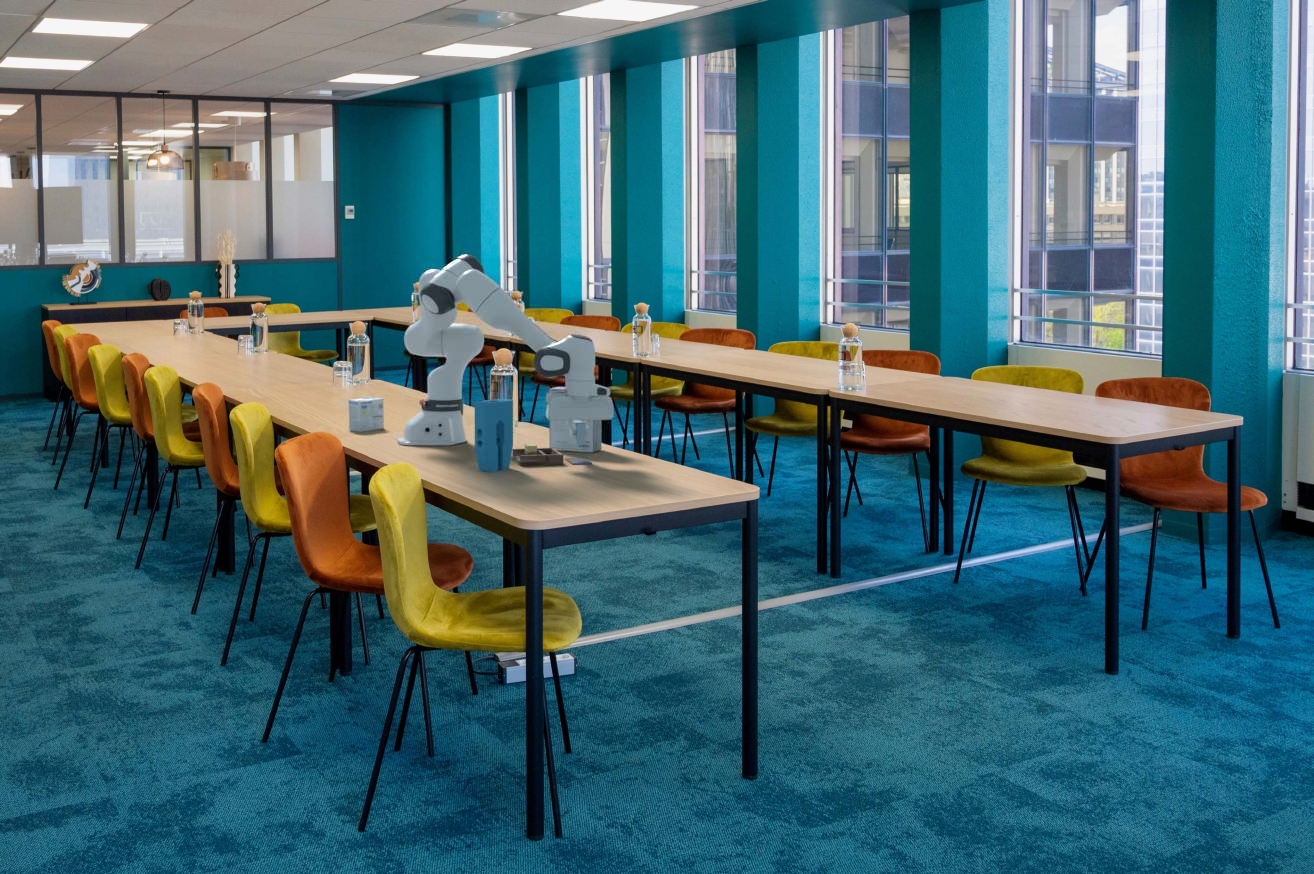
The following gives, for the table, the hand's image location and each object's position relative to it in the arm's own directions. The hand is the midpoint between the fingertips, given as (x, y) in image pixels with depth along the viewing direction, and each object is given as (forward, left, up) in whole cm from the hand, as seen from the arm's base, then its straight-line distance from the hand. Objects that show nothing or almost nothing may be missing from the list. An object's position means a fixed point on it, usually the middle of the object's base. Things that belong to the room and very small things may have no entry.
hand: (579, 435), depth 376 cm
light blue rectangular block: (0, +2, -3) cm, 4 cm away
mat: (0, +3, -9) cm, 9 cm away
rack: (-12, +5, -9) cm, 15 cm away
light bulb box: (-57, +81, -9) cm, 99 cm away
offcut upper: (-13, +8, -6) cm, 16 cm away
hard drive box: (+5, +24, -9) cm, 26 cm away
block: (-27, -5, -9) cm, 29 cm away
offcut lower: (-13, +8, -7) cm, 17 cm away
